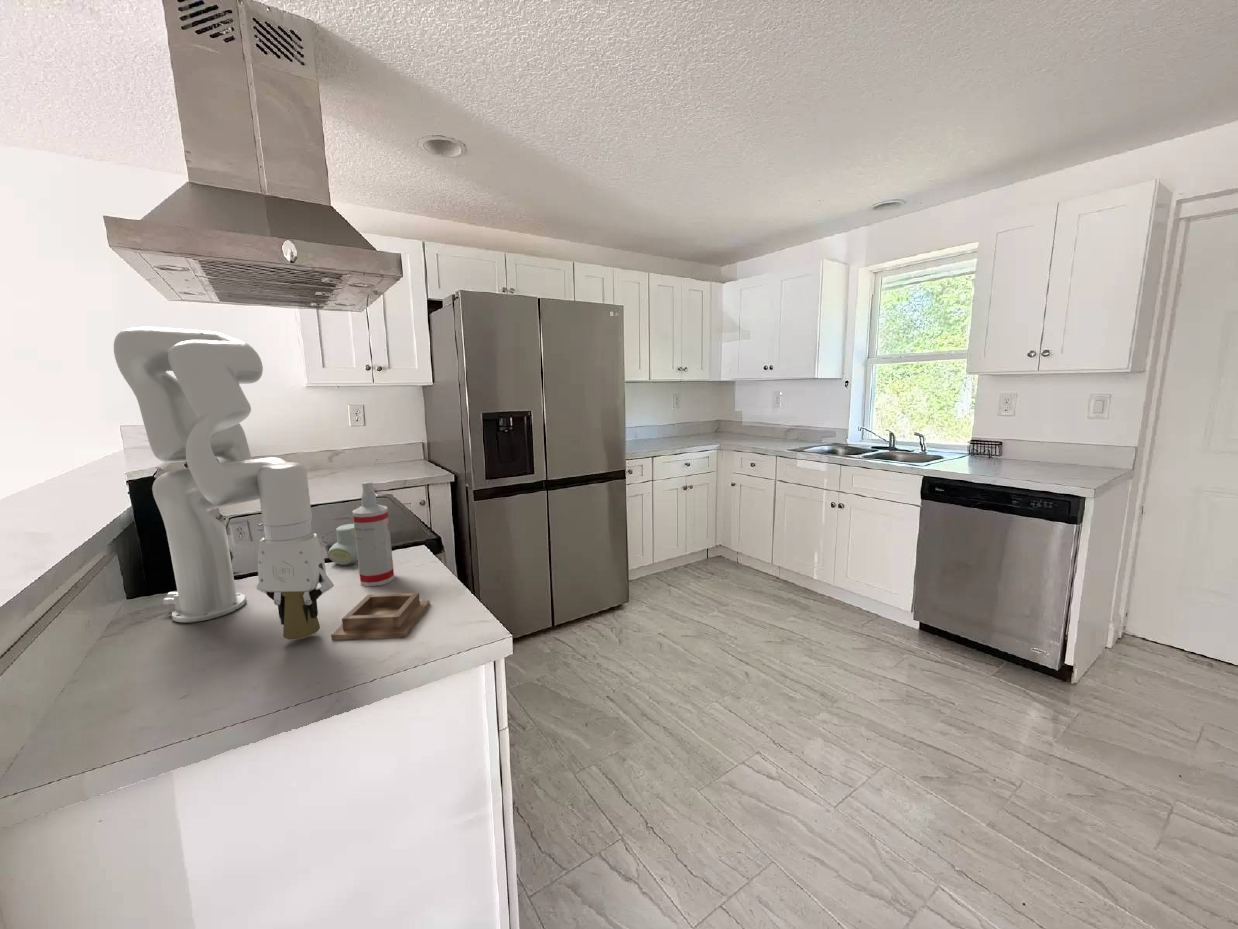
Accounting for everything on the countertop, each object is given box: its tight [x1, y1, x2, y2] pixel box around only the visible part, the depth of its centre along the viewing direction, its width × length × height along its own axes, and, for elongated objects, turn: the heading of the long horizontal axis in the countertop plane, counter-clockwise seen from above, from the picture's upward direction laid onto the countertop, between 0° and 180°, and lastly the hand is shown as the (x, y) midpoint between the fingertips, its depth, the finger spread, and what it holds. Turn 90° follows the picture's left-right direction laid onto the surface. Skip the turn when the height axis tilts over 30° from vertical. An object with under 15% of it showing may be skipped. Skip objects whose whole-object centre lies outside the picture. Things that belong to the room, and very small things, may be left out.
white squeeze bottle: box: [352, 481, 395, 587], centre depth 121 cm, size 8×8×25 cm
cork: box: [281, 591, 321, 641], centre depth 94 cm, size 6×6×11 cm
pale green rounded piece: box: [327, 523, 358, 566], centre depth 136 cm, size 11×8×10 cm
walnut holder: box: [330, 592, 431, 641], centre depth 102 cm, size 14×14×4 cm
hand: (299, 620), depth 94 cm, fingers closed on cork, 3 cm apart
